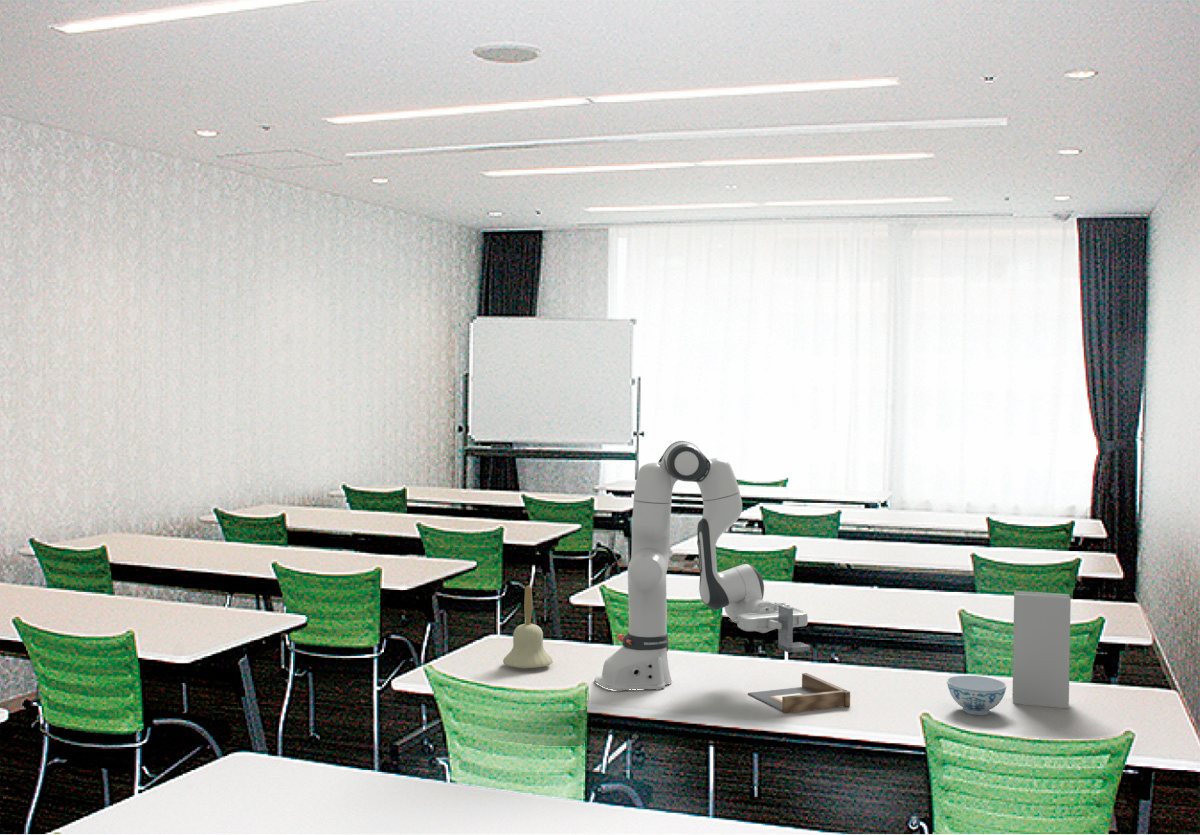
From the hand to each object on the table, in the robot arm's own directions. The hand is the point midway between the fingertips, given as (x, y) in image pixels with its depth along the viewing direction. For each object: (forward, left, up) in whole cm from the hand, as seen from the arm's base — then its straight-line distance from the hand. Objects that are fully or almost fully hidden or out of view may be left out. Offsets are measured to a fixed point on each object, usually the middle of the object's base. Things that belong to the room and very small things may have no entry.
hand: (786, 625), depth 305 cm
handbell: (-54, +61, -21) cm, 84 cm away
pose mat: (+3, +1, -21) cm, 21 cm away
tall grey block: (+65, -26, -21) cm, 73 cm away
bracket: (+3, +1, -7) cm, 7 cm away
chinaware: (+43, -26, -21) cm, 54 cm away
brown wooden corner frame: (+4, 0, -21) cm, 21 cm away
